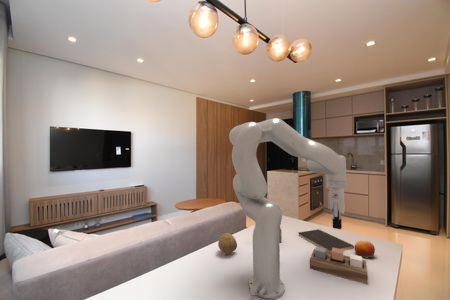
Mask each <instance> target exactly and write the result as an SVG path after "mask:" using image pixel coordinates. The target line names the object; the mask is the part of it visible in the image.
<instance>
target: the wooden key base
mask: <svg viewBox="0 0 450 300" xmlns="http://www.w3.org/2000/svg"><path fill="white" fill-rule="evenodd" d="M309 270H315V271H319V272H322V273H325V274H329V275H333V276H335V277H340V278H344V279H347V280H350V281H355V282H357V283H360V284H363V285H364V284H365V285H368V284H369V278H368V276H369V274H368V266H367V260H366V259H363V258H362V269H361V268H357V267H353V266H350V255H349V256H348V255H345V254H343V261H340V260H336V259H332V252H327V251H326V258H325V259H321V258H317V257H315V248H313V251H312V253H311V255H310V257H309Z"/></svg>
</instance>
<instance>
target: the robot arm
mask: <svg viewBox="0 0 450 300" xmlns="http://www.w3.org/2000/svg"><path fill="white" fill-rule="evenodd" d="M228 139H229V142H230V143H231V145H232V151H231V161H232V164H233V168H234V170H235V172H236V173H235V175H234V177H233V180H232V186H233V190H234V193H235V196H236V197H237V200H238V202H239V204H240V207H241V209H242V211H243V212H244V214H245V215H246V216H247V217H248V218H249V219H251V220H252V221H253V222H254V223H255V225H254V228H253V233H252V276H251V277H250V279H249V281H248V286H249V289H250V290H249V294H250V295H251V296H255V295H256V296H257V297H260V298H262V299H268V300H271V299H277V298H279V297H281V296H283V294H284V293H285V291H286V290H285V284H284V282H283V280H282V279H281V263H280V262H281V261H280V259H281V258H280V257H281V256H280V255H281V254H280V243H279V234H280V228H281V224H282V220H283V218H282V217H283V214H282V209H281V207H280V205H278V203H277V202H275V201H273V200H272V199H268V198H266V197H265V196H266V195H267V194H268V184H267V182H266V178H265V177H264V174H263V172H262V169H261V167H260V165H259V162H258V158H257V149H258V147H259V144H262V143H265V142H272V143H273V144H275V145H276V146H278V147H279V148H280V149H282V150H283V151H285V152H286V153H288V154H289V155H291V156H292V157H293V156H294V157H297V158H299V159H306V167H307V169H308V170H309V171H311V173H315V174H324V175H325V187H326V188H327V189H328V190H329V192H328V193H329V208H330V209H329V210H330V213H332V229H335V230H336V229H337V230H342V228H343V227H342V225H343V224H342V215H344V214H345V211H346V207H345V190H347V188H348V187H347V159H346V157H345V155H340V154H338V153H337V152H335V151H334V150H333V149H332V148H330V147H329V146H327V145H324V144H323V143H320V142H317V141H315V140H313V139H310V138H307V137H305V136H303V135H302V134H301V133H300V132H298V131H297V130H296V129H294V128H293V127H292V126H291V125H289V124H287V123H286V122H285V121H284V120H283V119H281V118H277V117H274V118H269V119H266V120H263V121H260V122H255V121H249V122H244V123H242V124H239V125H237V126H235V127H233V128H232V129H231V130H230V132H229V135H228ZM341 214H342V215H341Z"/></svg>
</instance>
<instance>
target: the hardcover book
mask: <svg viewBox="0 0 450 300" xmlns="http://www.w3.org/2000/svg"><path fill="white" fill-rule="evenodd" d="M297 234H298V236H299V237H300V238H302V239H304V240H306V241H307V242H310V243H311V244H313V245H315V247H321V248H325V249H326V251H327V252H332V247H333V248H338V249H342V250H343V251H347V250H352V249H354V246H355V244H354V245H353V244H352V243H349V242H347V241H345V240H343V239H341V238H339V237H336V236H334V235H332V234H331V233H328V232H325V231H323V230H321V229H319V228H318V229H312V230H306V231H300V232H297Z"/></svg>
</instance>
